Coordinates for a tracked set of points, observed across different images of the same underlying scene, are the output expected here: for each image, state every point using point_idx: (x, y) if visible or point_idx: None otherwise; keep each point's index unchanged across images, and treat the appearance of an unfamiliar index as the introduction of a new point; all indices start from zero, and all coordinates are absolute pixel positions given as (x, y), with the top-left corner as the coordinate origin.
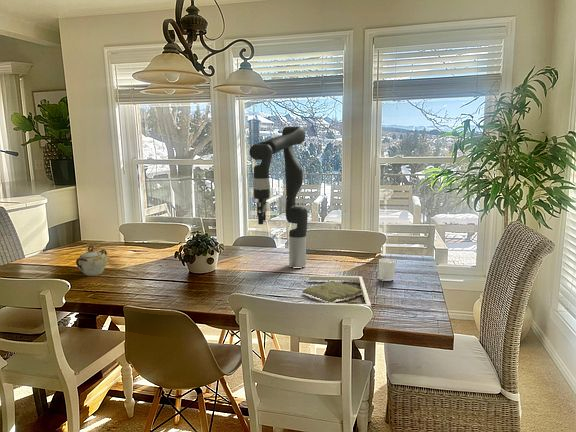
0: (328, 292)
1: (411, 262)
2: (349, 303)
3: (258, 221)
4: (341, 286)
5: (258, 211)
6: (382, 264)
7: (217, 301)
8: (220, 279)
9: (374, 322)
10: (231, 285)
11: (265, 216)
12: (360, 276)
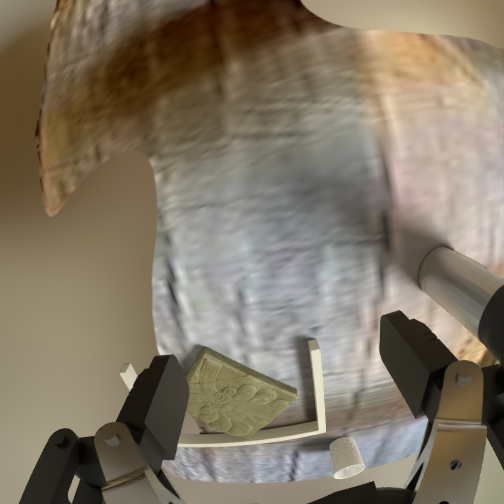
0: (204, 401)
1: None
2: (195, 419)
3: (147, 373)
4: (250, 417)
5: (112, 483)
6: (337, 467)
7: (90, 153)
8: (265, 64)
9: None
10: (216, 121)
11: (399, 389)
12: (325, 430)
